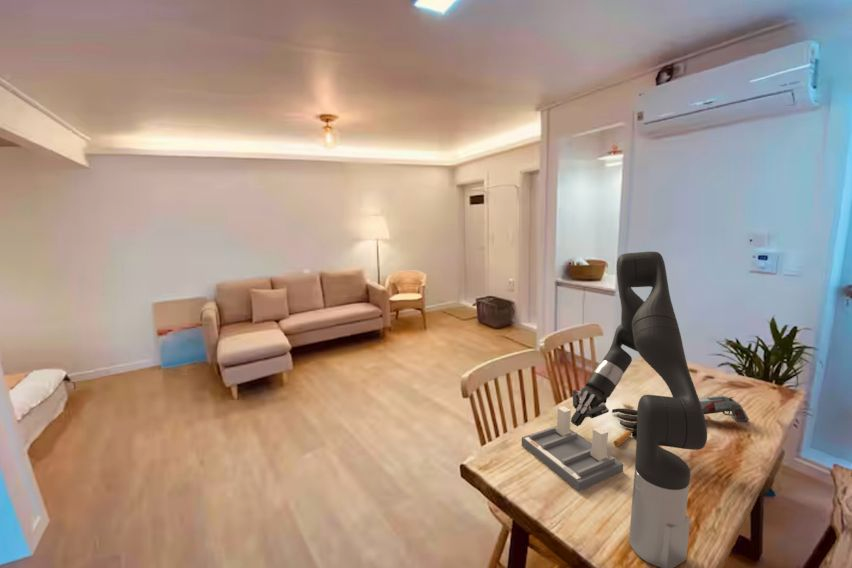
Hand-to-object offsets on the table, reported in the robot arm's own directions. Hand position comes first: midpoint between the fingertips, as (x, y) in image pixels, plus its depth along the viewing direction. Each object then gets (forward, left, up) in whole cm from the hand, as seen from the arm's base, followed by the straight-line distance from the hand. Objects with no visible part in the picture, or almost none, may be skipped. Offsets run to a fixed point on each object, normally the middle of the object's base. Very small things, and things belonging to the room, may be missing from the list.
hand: (574, 424), depth 117 cm
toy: (-7, -23, -5) cm, 25 cm away
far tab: (0, +4, -2) cm, 5 cm away
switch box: (-6, +8, -5) cm, 12 cm away
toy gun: (-13, -49, -5) cm, 50 cm away
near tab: (-13, +4, -2) cm, 14 cm away
